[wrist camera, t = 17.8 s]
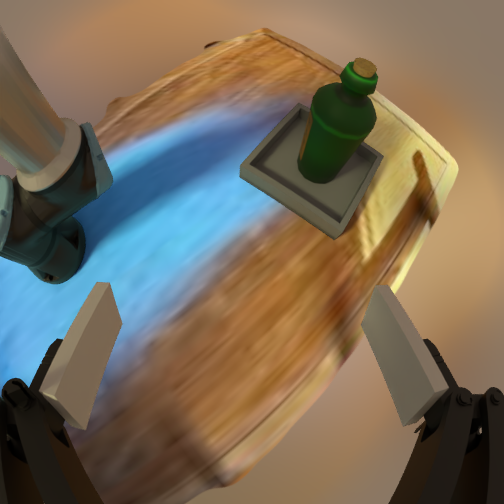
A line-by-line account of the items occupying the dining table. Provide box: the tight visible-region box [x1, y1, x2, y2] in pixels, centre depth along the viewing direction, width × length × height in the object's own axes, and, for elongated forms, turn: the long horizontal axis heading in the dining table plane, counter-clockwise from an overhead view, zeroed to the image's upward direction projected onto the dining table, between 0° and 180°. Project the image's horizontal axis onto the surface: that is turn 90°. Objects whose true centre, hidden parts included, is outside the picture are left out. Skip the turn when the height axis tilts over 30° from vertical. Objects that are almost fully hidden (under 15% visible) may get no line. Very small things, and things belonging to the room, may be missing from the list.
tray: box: [240, 103, 384, 240], centre depth 54 cm, size 22×22×4 cm
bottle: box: [297, 58, 378, 184], centre depth 42 cm, size 11×11×28 cm
